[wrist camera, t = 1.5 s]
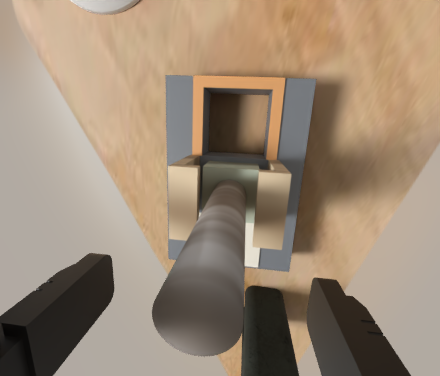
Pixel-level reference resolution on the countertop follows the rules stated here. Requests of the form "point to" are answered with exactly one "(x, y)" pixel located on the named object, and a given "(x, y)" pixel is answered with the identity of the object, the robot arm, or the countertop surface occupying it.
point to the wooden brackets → (264, 210)
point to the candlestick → (105, 6)
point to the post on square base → (211, 266)
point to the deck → (273, 150)
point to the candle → (266, 335)
